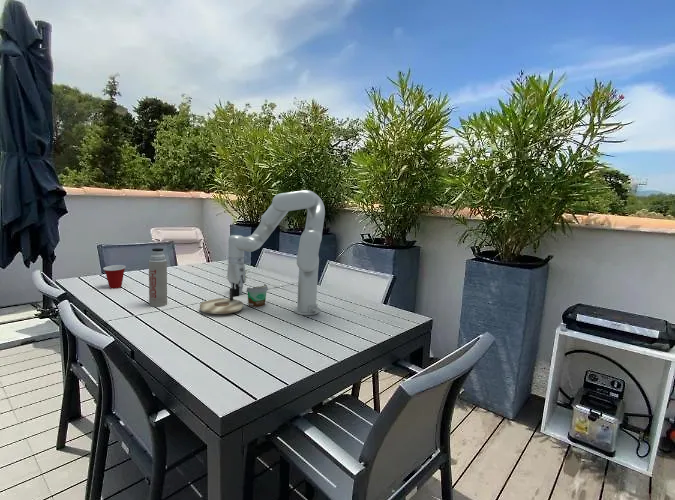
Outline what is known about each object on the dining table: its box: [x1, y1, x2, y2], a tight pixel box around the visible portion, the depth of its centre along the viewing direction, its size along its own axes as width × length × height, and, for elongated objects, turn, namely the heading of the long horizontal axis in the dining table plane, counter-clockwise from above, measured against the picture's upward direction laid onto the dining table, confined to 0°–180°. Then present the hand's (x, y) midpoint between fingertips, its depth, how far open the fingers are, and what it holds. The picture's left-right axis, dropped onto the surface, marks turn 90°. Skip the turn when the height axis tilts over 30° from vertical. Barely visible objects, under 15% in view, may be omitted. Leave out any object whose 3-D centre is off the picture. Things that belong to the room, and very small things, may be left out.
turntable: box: [199, 287, 244, 315], centre depth 176 cm, size 20×20×9 cm
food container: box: [246, 283, 269, 308], centre depth 186 cm, size 12×6×10 cm, turn 143°
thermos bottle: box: [148, 247, 168, 308], centre depth 178 cm, size 8×8×28 cm
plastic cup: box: [102, 264, 126, 290], centre depth 204 cm, size 11×11×12 cm
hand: (235, 296), depth 182 cm, fingers closed
